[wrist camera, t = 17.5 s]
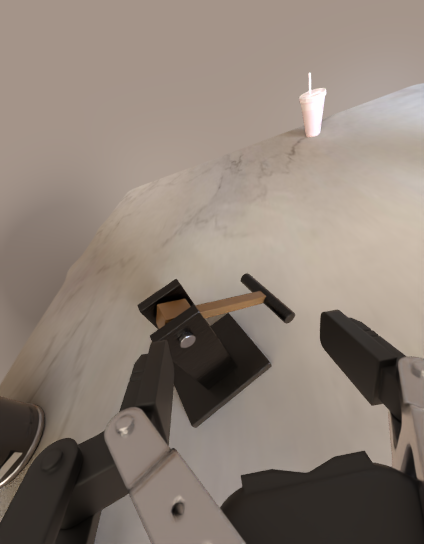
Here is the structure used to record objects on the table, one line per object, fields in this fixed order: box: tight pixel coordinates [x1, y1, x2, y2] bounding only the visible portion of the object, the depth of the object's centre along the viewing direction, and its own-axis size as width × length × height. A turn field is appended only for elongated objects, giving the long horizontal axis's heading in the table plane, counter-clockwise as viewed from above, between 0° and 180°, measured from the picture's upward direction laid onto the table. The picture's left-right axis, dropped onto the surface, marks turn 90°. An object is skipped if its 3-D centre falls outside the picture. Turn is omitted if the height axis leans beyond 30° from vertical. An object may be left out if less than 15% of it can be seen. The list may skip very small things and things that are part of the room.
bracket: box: [138, 279, 271, 428], centre depth 24 cm, size 11×9×14 cm
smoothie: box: [299, 72, 326, 137], centre depth 59 cm, size 6×6×14 cm
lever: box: [156, 274, 295, 329], centre depth 23 cm, size 13×8×2 cm
